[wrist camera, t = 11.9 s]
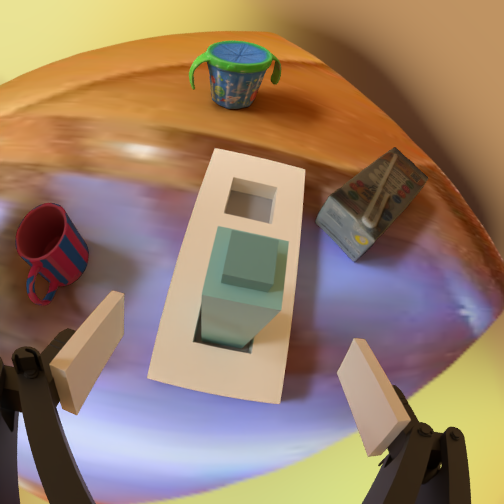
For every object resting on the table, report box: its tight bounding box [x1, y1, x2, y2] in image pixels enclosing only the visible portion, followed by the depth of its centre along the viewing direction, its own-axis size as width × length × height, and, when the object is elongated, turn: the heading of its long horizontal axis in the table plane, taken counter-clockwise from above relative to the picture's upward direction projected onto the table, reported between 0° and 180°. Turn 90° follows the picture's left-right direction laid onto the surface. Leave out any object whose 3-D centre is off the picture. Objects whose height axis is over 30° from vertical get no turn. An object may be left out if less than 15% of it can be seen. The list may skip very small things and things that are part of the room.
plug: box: [201, 226, 289, 349], centre depth 21 cm, size 4×4×16 cm
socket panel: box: [147, 148, 305, 404], centre depth 31 cm, size 12×28×3 cm, turn 171°
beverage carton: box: [315, 147, 428, 262], centre depth 37 cm, size 8×19×7 cm, turn 132°
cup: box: [15, 203, 88, 306], centre depth 25 cm, size 7×10×7 cm
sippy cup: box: [189, 41, 281, 109], centre depth 41 cm, size 16×10×10 cm
